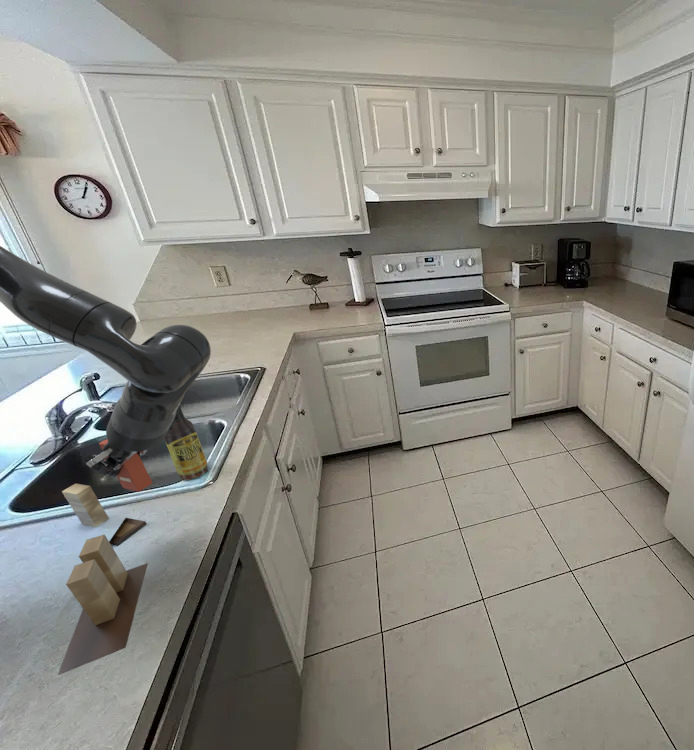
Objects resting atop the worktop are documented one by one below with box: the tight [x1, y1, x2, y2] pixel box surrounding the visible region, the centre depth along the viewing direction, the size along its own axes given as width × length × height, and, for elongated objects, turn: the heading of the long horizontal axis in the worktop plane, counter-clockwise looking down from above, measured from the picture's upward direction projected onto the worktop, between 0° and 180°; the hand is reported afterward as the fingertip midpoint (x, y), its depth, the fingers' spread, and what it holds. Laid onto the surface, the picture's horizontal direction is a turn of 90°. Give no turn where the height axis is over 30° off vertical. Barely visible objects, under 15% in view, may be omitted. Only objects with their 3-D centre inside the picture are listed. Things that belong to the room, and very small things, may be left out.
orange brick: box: [98, 438, 153, 493], centre depth 73 cm, size 3×4×10 cm, turn 74°
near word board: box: [57, 534, 148, 676], centre depth 67 cm, size 8×18×11 cm, turn 29°
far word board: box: [61, 483, 147, 547], centre depth 85 cm, size 6×12×11 cm, turn 77°
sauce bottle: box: [164, 403, 209, 481], centre depth 99 cm, size 6×6×20 cm
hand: (120, 466), depth 74 cm, fingers closed on orange brick, 2 cm apart
